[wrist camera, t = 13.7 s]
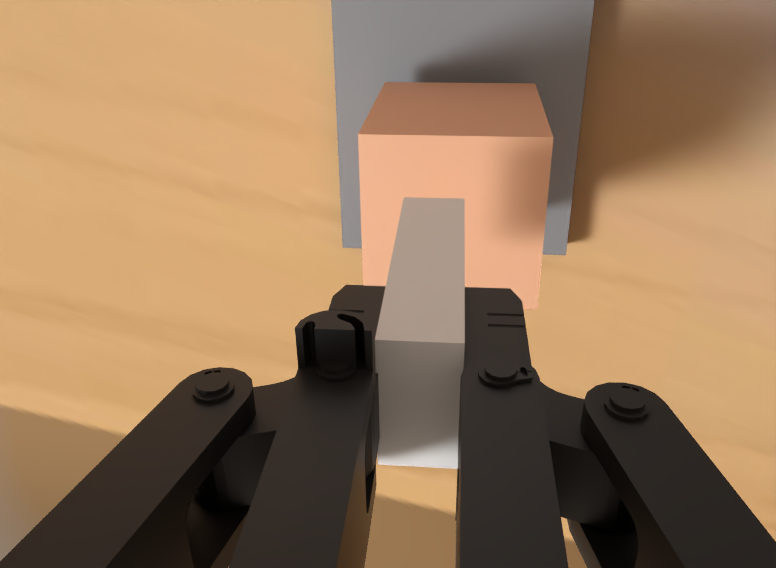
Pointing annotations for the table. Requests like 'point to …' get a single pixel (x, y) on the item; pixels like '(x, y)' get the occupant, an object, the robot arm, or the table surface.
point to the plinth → (463, 75)
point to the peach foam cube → (460, 175)
